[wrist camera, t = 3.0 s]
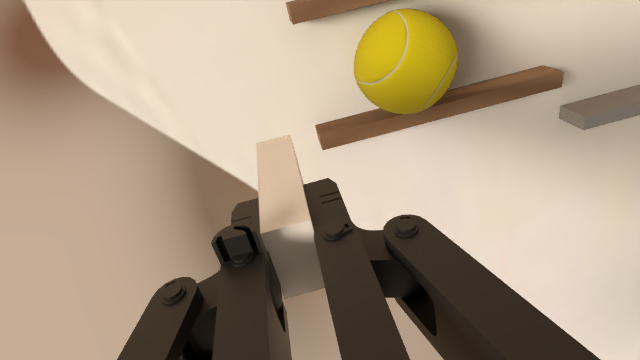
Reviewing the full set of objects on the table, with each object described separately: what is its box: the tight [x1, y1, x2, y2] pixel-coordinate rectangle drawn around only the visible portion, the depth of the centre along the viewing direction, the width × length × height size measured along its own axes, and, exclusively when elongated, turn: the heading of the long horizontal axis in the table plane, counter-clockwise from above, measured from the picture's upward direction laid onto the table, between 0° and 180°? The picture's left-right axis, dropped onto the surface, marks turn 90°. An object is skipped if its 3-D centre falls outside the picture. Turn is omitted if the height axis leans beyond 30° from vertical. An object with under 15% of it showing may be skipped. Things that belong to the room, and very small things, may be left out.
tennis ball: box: [354, 9, 458, 114], centre depth 28 cm, size 7×7×7 cm
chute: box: [286, 0, 563, 150], centre depth 30 cm, size 11×20×2 cm, turn 102°
